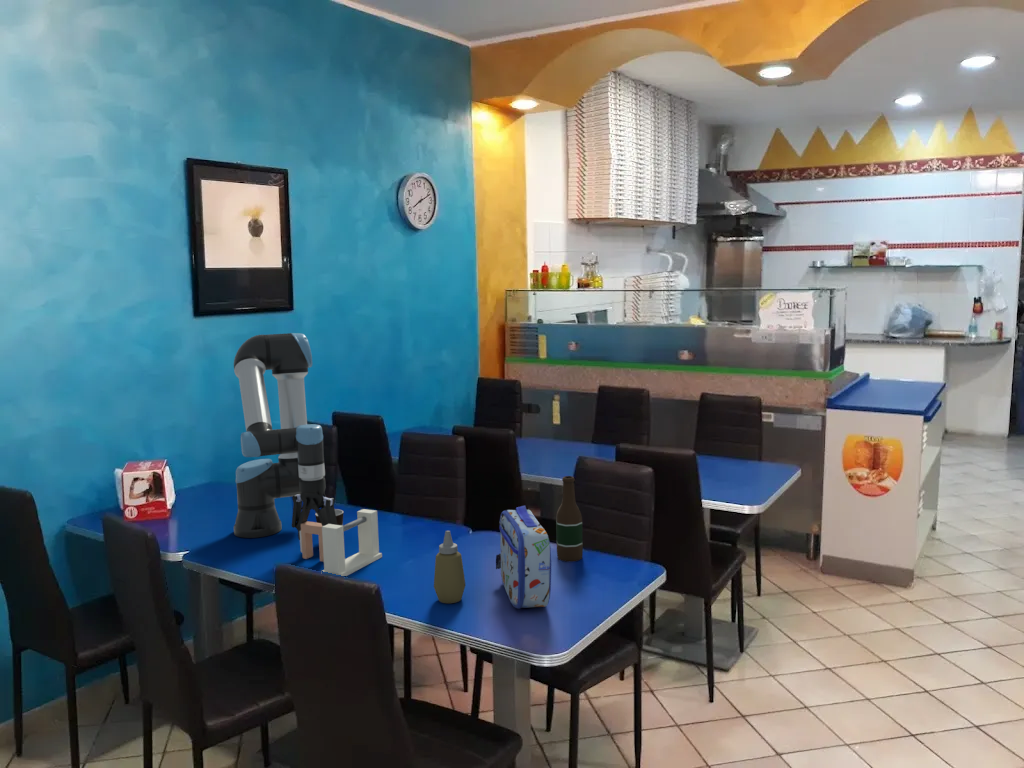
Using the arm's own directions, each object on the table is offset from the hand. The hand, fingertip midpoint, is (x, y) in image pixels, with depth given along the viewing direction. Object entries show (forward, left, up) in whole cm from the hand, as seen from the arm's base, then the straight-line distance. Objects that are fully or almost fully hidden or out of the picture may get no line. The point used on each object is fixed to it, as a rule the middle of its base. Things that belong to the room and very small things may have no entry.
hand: (316, 552), depth 246 cm
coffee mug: (-5, +14, -2) cm, 15 cm away
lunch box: (+69, -2, -2) cm, 69 cm away
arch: (0, 0, -2) cm, 2 cm away
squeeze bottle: (+53, -12, -2) cm, 54 cm away
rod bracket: (+14, -1, -2) cm, 14 cm away
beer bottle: (+69, +29, -2) cm, 75 cm away
